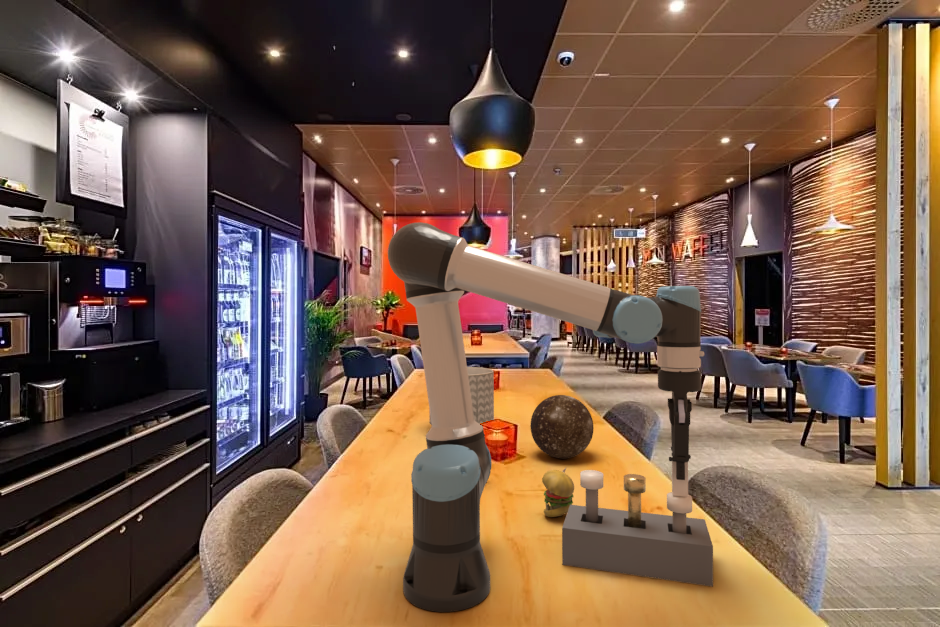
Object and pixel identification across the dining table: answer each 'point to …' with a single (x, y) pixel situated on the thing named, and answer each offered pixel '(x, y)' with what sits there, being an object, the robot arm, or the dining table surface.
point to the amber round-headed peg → (634, 498)
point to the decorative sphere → (562, 426)
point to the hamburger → (557, 492)
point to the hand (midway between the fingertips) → (680, 494)
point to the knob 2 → (679, 511)
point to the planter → (481, 393)
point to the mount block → (638, 546)
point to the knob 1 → (591, 492)
